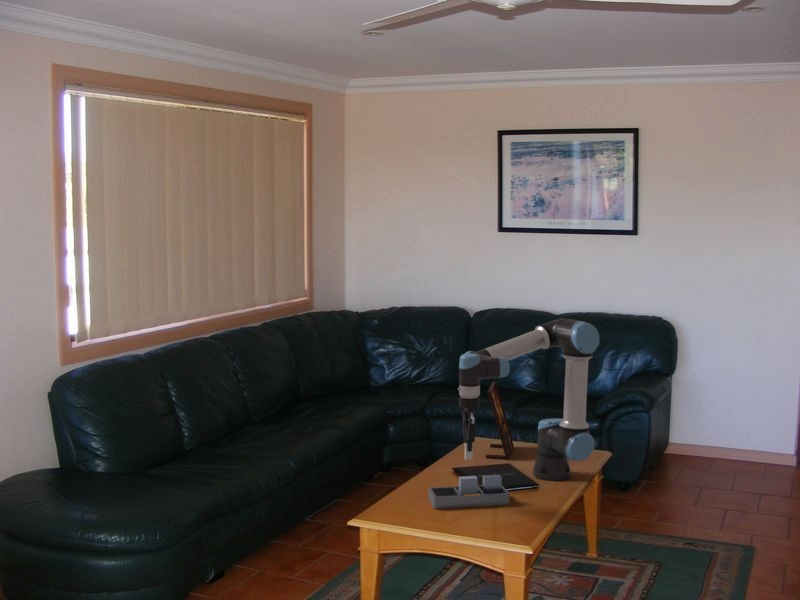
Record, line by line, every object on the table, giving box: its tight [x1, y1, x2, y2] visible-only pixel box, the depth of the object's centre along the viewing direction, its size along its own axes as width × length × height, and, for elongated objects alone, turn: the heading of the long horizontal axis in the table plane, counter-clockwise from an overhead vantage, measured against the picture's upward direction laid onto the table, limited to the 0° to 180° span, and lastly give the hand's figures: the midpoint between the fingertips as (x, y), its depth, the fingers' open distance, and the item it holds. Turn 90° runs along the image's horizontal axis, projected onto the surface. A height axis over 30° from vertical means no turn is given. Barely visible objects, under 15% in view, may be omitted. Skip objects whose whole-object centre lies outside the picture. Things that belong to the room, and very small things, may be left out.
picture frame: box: [485, 381, 515, 461], centre depth 399 cm, size 21×11×30 cm, turn 168°
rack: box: [427, 474, 510, 510], centre depth 335 cm, size 28×11×9 cm, turn 99°
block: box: [458, 475, 479, 495], centre depth 335 cm, size 6×3×8 cm, turn 100°
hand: (468, 459), depth 334 cm, fingers closed
